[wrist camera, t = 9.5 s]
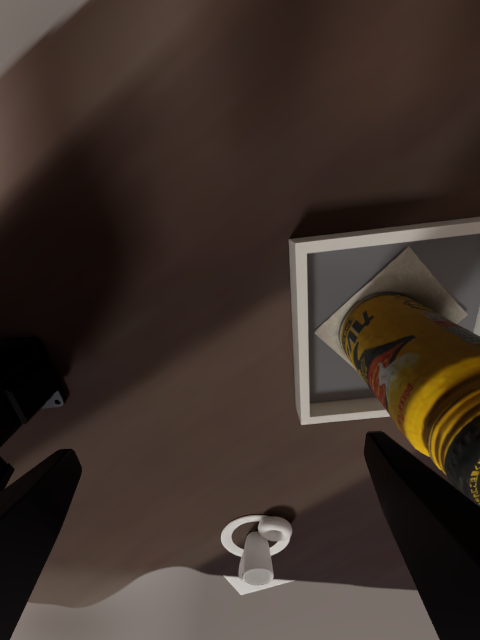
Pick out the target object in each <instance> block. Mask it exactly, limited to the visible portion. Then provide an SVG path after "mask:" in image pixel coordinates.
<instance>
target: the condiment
mask: <svg viewBox="0 0 480 640" xmlns="http://www.w3.org/2000/svg"><path fill="white" fill-rule="evenodd" d="M467 315H468V314H467V313H466V312H465V311H464V310H463V309H462V308H461V307H460V306H459V305H458V303H457V302H456V301H455V300H454V299H453V298H452V297H451V295H450V294H449V293H448V292H447V291H446V290H445V289H444V288H443V286H442V285H441V284H440V283H439V282H438V280H437V279H436V278H435V277H433V276H432V273H431V272H430V271H429V270H428V269H427V267H426V266H425V265H424V264H423V263H422V262H421V261H420V259H419V258H418V257H417V255H416V254H415V253H414V252H413V251H412V249H411V248H410V247H409V246H408V247H407V248H406V249H405V250H404V251H403V252H402V253H401V254H400V255H399V256H398V257H397V258H396V259H394V260H393V261H392V262H391V263H390V264H389V265H388V266H387V267H386V268H385V269H384V270H383V271H381V272H380V273H379V274H378V275H377V276H376V277H375V278H374V279H373V280H372V281H370V282H369V283H368V284H367V285H366V286H365V287H363V288H362V289H361V290H360V291H359V292H357V293H356V294H355V295H354V296H353V297H352V298H351V299H349V301H347V302H346V303H345V304H344V305H343V306H342V307H341V308H340V309H339V310H338V311H336V312H335V313H334V314H333V315H332V316H331V317H330V318H329V319H328V320H327V321H325V322H324V323H323V324H322V325H321V326H320V327H319V328H318V329H317V330H316V331H315V334H316V335H317V336H318V337H319V338H320V339H321V340H323V341H324V342H325V343H326V344H327V345H328V346H329V347H331V348H332V349H333V350H334V351H335V352H336V353H337V354H338V355H340V356H341V357H342V358H343V359H344V360H345V361H346V362H347V363H349V364H350V365H351V366H352V367H353V368H354V369H355V370H356V371H357V372H358V374H359V375H360V376H361V377H362V378H363V380H364V381H365V383H366V384H367V385H368V387H369V388H370V390H371V391H372V392H373V394H374V395H375V397H377V398H378V400H379V401H380V402H381V404H382V405H383V407H384V408H385V409H386V411H387V412H388V414H389V415H390V416H391V417H392V419H393V420H394V421H395V423H396V425H397V427H398V429H400V430H401V431H402V433H403V434H404V435H405V436H406V437H407V439H408V440H409V442H410V443H411V444H412V445H413V446H414V448H415V449H417V450H419V451H420V452H421V453H423V454H425V455H427V456H429V457H431V459H432V460H433V462H434V463H435V464H436V465H437V467H438V468H439V469H440V470H442V471H443V472H444V473H445V475H446V476H447V477H448V479H449V481H450V482H451V484H452V485H453V486H454V487H455V488H456V489H458V490H459V491H460V492H462V493H463V494H464V495H466V496H467V497H468V498H469V499H471V500H472V501H473V502H475V503H476V504H477V505H478V506H480V336H478V335H476V334H474V333H473V332H471V331H469V330H467V329H465V328H463V327H461V326H459V325H458V323H459V322H460V321H461V320H462V319H464V318H465V317H466V316H467Z"/></svg>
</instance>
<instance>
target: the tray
mask: <svg viewBox="0 0 480 640" xmlns="http://www.w3.org/2000/svg"><path fill="white" fill-rule="evenodd" d="M408 246H409V247H410V248H411V249H412V251H413V252H414V253H415V254H416V255H417V257H418V258H419V259H420V261H421V262H422V263H423V264H424V265H425V266H426V267H427V269H428V270H429V271H430V272H431V273H432V276H433V277H435V278H436V279H437V280H438V282H439V283H440V284H441V285H442V286H443V288H444V289H445V290H446V291H447V292H448V293H449V294H450V295H451V297H452V298H453V299H454V300H455V301H456V302H457V303H458V305H459V306H460V307H461V308H462V309H463V310H464V311H465V312H466V313H467V314H468V315H467V316H466V317H465V318H464V319H462V320H461V321H460V322H459V323H458V325H459V326H461V327H463V328H465V329H467V330H469V331H471V332H473V333H474V334H476V335H478V336H480V217H473V218H464V219H456V220H447V221H439V222H430V223H422V224H413V225H405V226H397V227H388V228H380V229H371V230H363V231H354V232H346V233H337V234H329V235H320V236H312V237H303V238H295V239H289V257H290V281H291V305H292V329H293V353H294V376H295V400H296V409H297V412H298V416H299V419H300V422H301V425H304V424H315V423H325V422H336V421H346V420H356V419H367V418H377V417H388V416H390V415H389V414H388V412H387V411H386V409H385V408H384V407H383V405H382V404H381V402H380V401H379V400H378V398H377V397H375V395H374V394H373V392H372V391H371V390H370V388H369V387H368V385H367V384H366V383H365V381H364V380H363V378H362V377H361V376H360V375H359V374H358V372H357V371H356V370H355V369H354V368H353V367H352V366H351V365H350V364H349V363H347V362H346V361H345V360H344V359H343V358H342V357H341V356H340V355H338V354H337V353H336V352H335V351H334V350H333V349H332V348H331V347H329V346H328V345H327V344H326V343H325V342H324V341H323V340H321V339H320V338H319V337H318V336H317V335H316V334H315V331H316V330H317V329H318V328H319V327H320V326H321V325H322V324H323V323H324V322H325V321H327V320H328V319H329V318H330V317H331V316H332V315H333V314H334V313H335V312H336V311H338V310H339V309H340V308H341V307H342V306H343V305H344V304H345V303H346V302H347V301H349V299H351V298H352V297H353V296H354V295H355V294H356V293H357V292H359V291H360V290H361V289H362V288H363V287H365V286H366V285H367V284H368V283H369V282H370V281H372V280H373V279H374V278H375V277H376V276H377V275H378V274H379V273H380V272H381V271H383V270H384V269H385V268H386V267H387V266H388V265H389V264H390V263H391V262H392V261H393V260H394V259H396V258H397V257H398V256H399V255H400V254H401V253H402V252H403V251H404V250H405V249H406V248H407V247H408Z"/></svg>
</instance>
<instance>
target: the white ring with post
mask: <svg viewBox="0 0 480 640" xmlns="http://www.w3.org/2000/svg"><path fill="white" fill-rule="evenodd" d="M252 521H260V522H259V525H258V532H257V531H256V532H251V533H249V534H248V535H247V538H246V541H245V547H244V550H243V549H241V548H239V547H237V546H236V545H235V544H234V543H233V542H232V539H231V535H232V532H233V531H234V529H235V528H237V527H238V526H239V525H241V524H244V523H247V522H252ZM291 534H292V528H291V525H290V523H289V522H288V521H287V520H285V519H284V518H281V517H276V516H265V515H249V516H244V517H241V518H238V519H236V520H234V521H232V522H230V523H229V524H228V525H227V526H226V527H225V528H224V529H223V531H222V534H221V541H222V544H223V545H224V547H225V548H226V549H227V550H228V551H230V552H231V553H233V554H235V555H238V556H241V561H240V565H239V577H228V576H224V577H225V578H226V579H227V580H228V582H229V583H230V584H231V585H232V586H233V587H234V588H235V589H236V590H237V591H238V593H239V594H240V595H244V594H248V593H252V592H255V591H259V590H263V589H266V588H270V587H274V586H277V585H281V584H284V583H288V582H292V581H289V580H275V579H273V568H272V561H271V555H274V554H276V553H278V552H280V551H281V550H283V549H284V548H285V547H286V546H287V544H288V543H289V540H290V536H291ZM267 540H271V541H278V542H277V543H276V544H275V545H274V546H273V547H271V548H269V544H268V541H267ZM242 574H243V577H242Z"/></svg>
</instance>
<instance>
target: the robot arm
mask: <svg viewBox="0 0 480 640" xmlns="http://www.w3.org/2000/svg"><path fill="white" fill-rule="evenodd" d="M31 342H33V343H34V345H33V344H32V343H31ZM58 400H59V401H58ZM65 402H66V397H65V395H64V393H63V391H62V388H61V386H60V384H59V382H58V379H57V377H56V375H55V373H54V370H53V368H52V366H51V364H50V361H49V359H48V357H47V355H46V352H45V350H44V348H43V346H42V343H41V341H40V340H39V339H38V338H37V337H34V336H30V337H21V338H12V339H3V340H0V447H1V446H2V445H3V444H4V443H5V442H6V441H7V440H8V439H9V438H10V437H11V436H12V435H13V434H14V433H15V432H16V431H17V430H18V429H19V428H20V427H21V426H22V425H23V424H26V423H27V422H28V421H29V420H30V419H31V418H32V417H33V416H34V415H35V414H36V413H37V412H38V411H39V410H40V409H43V408H53V407H61V406H63V405H64V403H65ZM364 456H365V460H366V463H367V466H368V469H369V472H370V475H371V478H372V481H373V484H374V487H375V490H376V493H377V496H378V499H379V502H380V505H381V508H382V510H383V513H384V516H385V518H386V521H387V523H388V525H389V528H390V530H391V532H392V534H393V537H394V539H395V541H396V543H397V545H398V548H399V550H400V552H401V554H402V557H403V559H404V561H405V563H406V566H407V568H408V570H409V572H410V575H411V577H412V579H413V581H414V583H415V586H416V588H417V590H418V592H419V595H420V597H421V599H422V601H423V604H424V606H425V608H426V610H427V612H428V615H429V617H430V619H431V621H432V624H433V626H434V628H435V630H436V633H437V635H438V637H439V639H440V640H480V506H478V505H477V504H476V503H475V502H473V501H472V500H471V499H469V498H468V497H467V496H466V495H464V494H463V493H462V492H460V491H459V490H458V489H456V488H455V487H454V486H453V485H451V484H450V483H449V482H447V481H446V480H445V479H444V478H442V477H441V476H440V475H438V474H437V473H436V472H434V471H433V470H432V469H431V468H429V467H428V466H427V465H425V464H424V463H423V462H422V461H420V460H419V459H418V458H416V457H415V456H414V455H412V454H411V453H410V452H409V451H407V450H406V449H405V448H403V447H402V446H401V445H400V444H398V443H397V442H396V441H394V440H393V439H392V438H390V437H389V436H388V435H387V434H385V433H384V432H382V431H369V432H367V434H366V439H365V447H364ZM13 472H14V468H13V467H12V466H11V465H10V464H7V463H6V462H5V461H4V460H3V459H2V458H1V457H0V640H10V638H11V636H12V634H13V632H14V630H15V627H16V625H17V623H18V621H19V619H20V617H21V614H22V612H23V610H24V608H25V606H26V604H27V602H28V599H29V597H30V595H31V593H32V591H33V589H34V587H35V584H36V582H37V580H38V578H39V576H40V574H41V572H42V569H43V567H44V565H45V563H46V561H47V559H48V557H49V554H50V552H51V550H52V548H53V546H54V544H55V541H56V539H57V537H58V535H59V532H60V530H61V528H62V525H63V523H64V520H65V517H66V515H67V512H68V509H69V507H70V504H71V501H72V498H73V496H74V493H75V490H76V488H77V485H78V482H79V479H80V477H81V473H82V467H81V464H80V462H79V460H78V458H77V455H76V453H75V451H74V450H73V449H60V450H58V451H56V452H54V453H53V454H52V455H50V456H49V457H48V458H46V459H45V460H44V461H42V462H41V463H39V464H38V465H37V466H35V467H34V468H33V469H31V470H30V471H29V472H27V473H26V474H24V475H23V476H22V477H20V478H19V479H18V480H16V481H15V482H14V483H12V484H11V485H9V486H8V487H7V488H5V487H6V485H7V483H8V481H9V479H10V477H11V475H12V474H13ZM4 488H5V489H4Z"/></svg>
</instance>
